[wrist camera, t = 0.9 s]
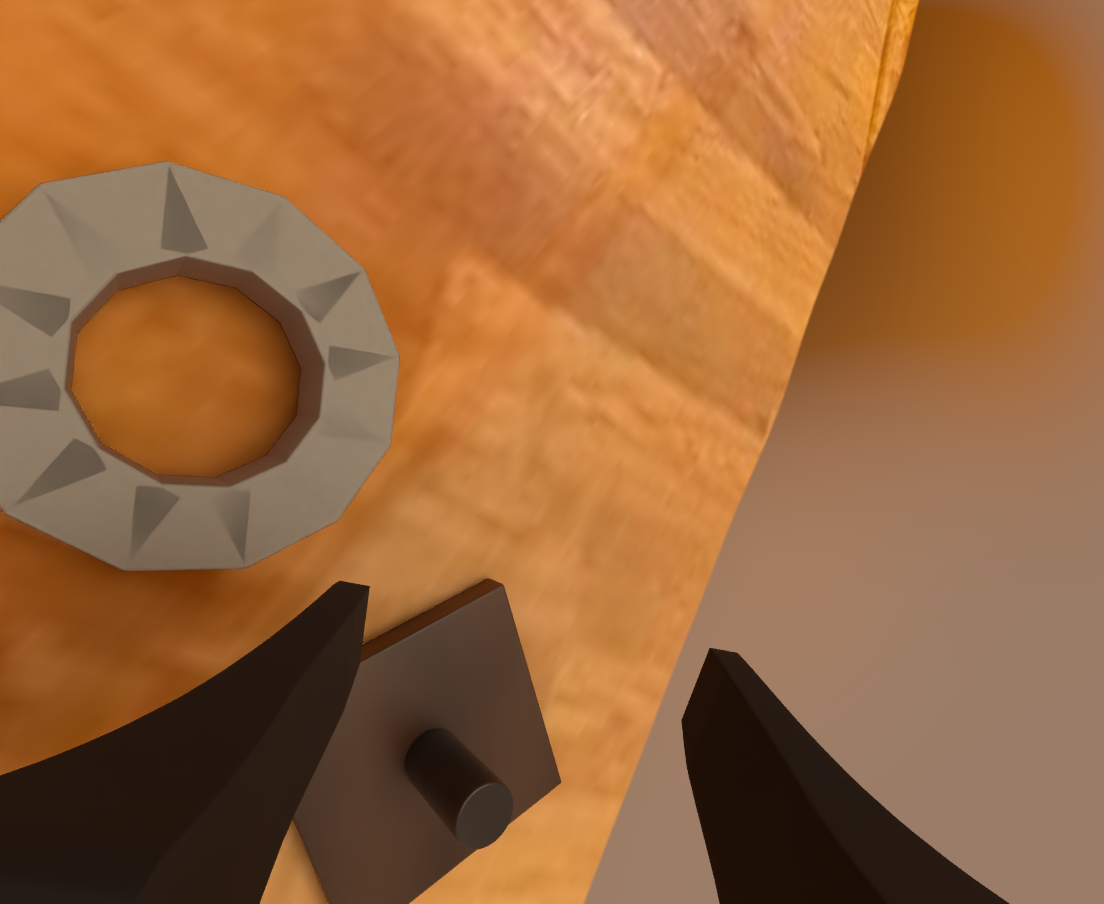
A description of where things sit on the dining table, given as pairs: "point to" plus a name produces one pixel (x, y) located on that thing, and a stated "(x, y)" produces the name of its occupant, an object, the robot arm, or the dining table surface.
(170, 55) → the dining table surface
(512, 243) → the dining table surface
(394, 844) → the stand
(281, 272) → the tape roll
